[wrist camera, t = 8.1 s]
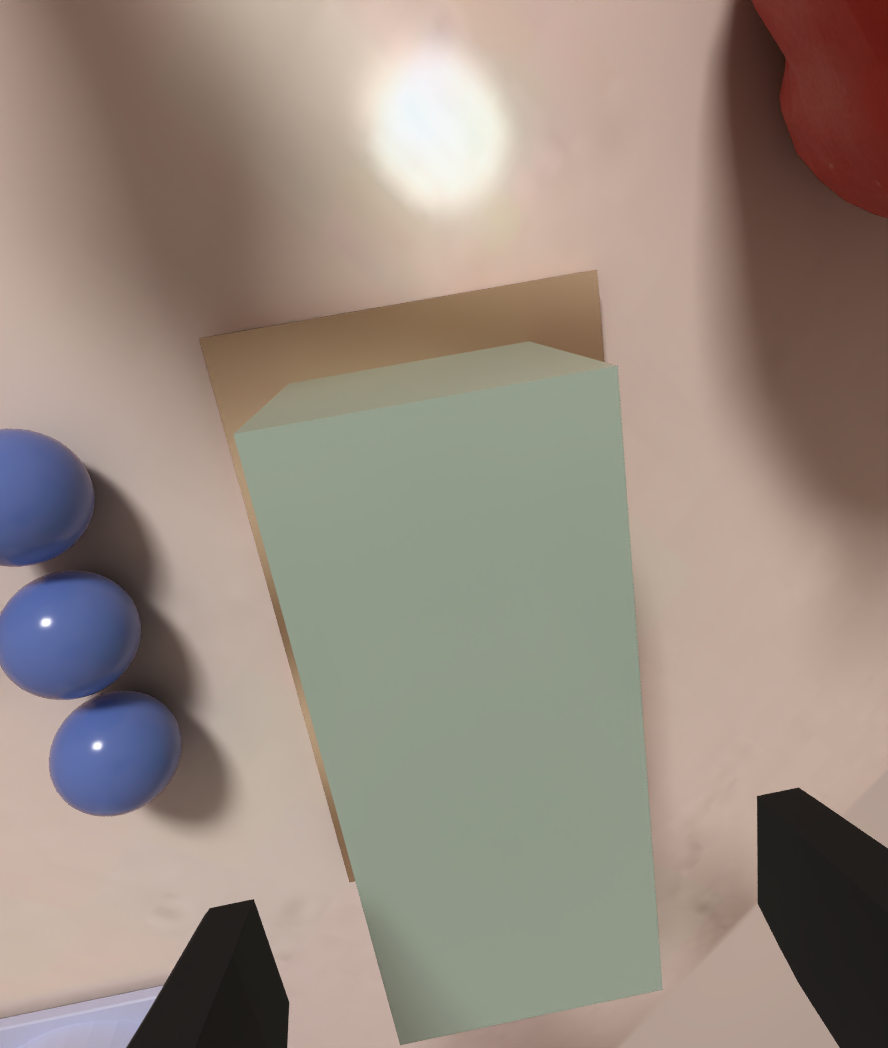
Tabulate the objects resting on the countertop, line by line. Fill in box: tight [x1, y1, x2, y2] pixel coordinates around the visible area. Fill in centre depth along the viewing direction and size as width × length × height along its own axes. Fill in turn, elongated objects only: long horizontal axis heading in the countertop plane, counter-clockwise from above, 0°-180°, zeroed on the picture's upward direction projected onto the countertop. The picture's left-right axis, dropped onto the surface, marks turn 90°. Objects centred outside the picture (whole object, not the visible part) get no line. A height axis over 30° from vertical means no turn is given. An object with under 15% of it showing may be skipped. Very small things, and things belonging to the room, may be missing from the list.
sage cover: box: [233, 341, 663, 1045], centre depth 14 cm, size 13×6×6 cm, turn 9°
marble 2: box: [0, 570, 141, 700], centre depth 16 cm, size 3×3×3 cm
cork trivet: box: [199, 270, 604, 882], centre depth 18 cm, size 16×9×1 cm, turn 9°
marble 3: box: [49, 691, 182, 816], centre depth 17 cm, size 3×3×3 cm
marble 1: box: [0, 429, 95, 567], centre depth 14 cm, size 3×3×3 cm
